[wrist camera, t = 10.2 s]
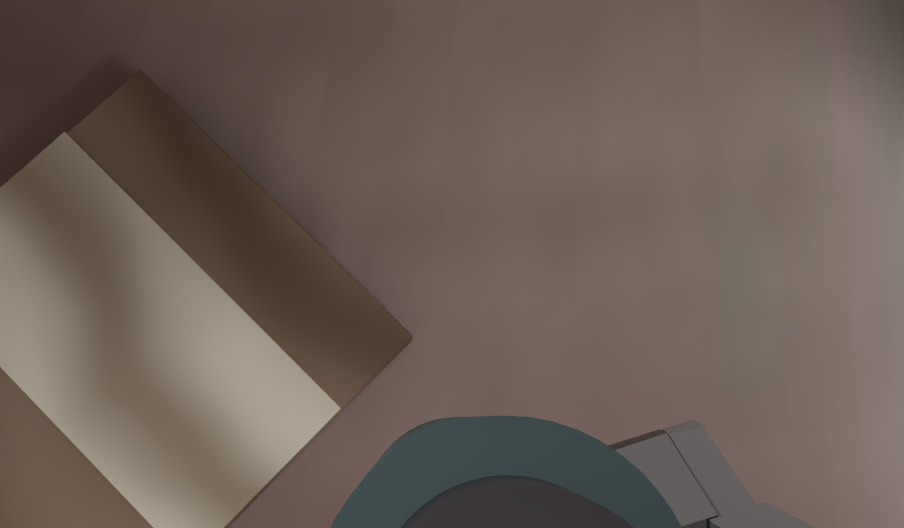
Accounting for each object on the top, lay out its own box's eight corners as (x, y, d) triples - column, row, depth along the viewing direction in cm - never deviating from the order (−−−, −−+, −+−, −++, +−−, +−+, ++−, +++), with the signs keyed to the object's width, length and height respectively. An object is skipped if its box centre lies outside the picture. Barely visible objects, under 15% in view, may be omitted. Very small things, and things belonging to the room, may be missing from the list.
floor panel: (152, 85, 32) (138, 67, 30) (412, 339, 31) (412, 335, 29) (-145, 346, 30) (-177, 341, 28) (123, 633, 28) (106, 646, 27)
